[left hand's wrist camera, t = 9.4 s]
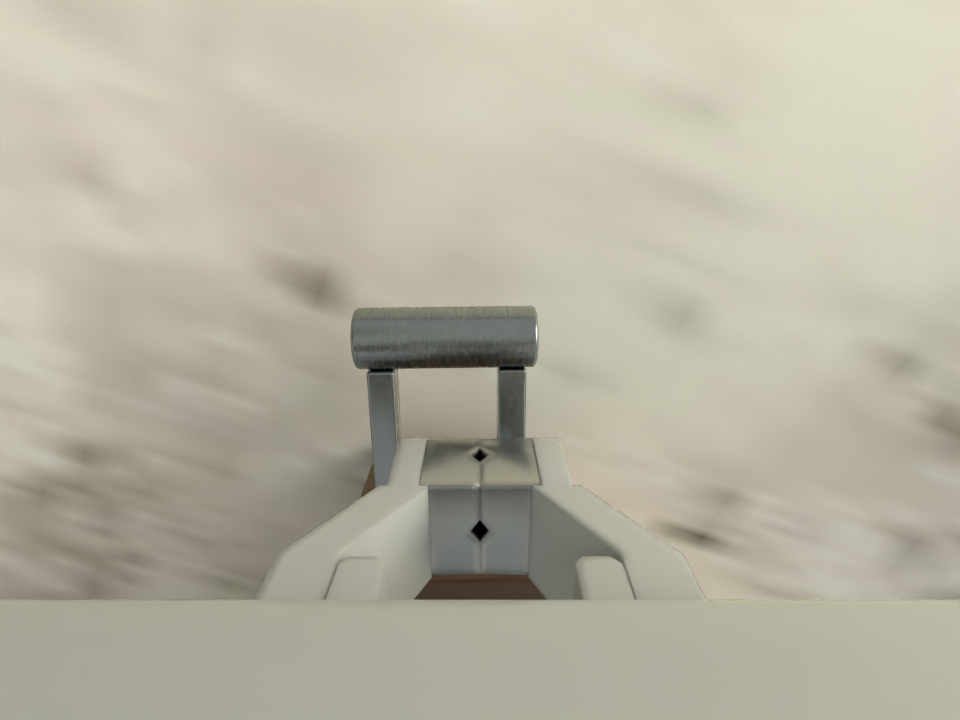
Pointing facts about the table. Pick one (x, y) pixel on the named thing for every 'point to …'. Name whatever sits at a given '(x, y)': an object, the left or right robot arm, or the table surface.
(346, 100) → the table surface
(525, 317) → the drawer
